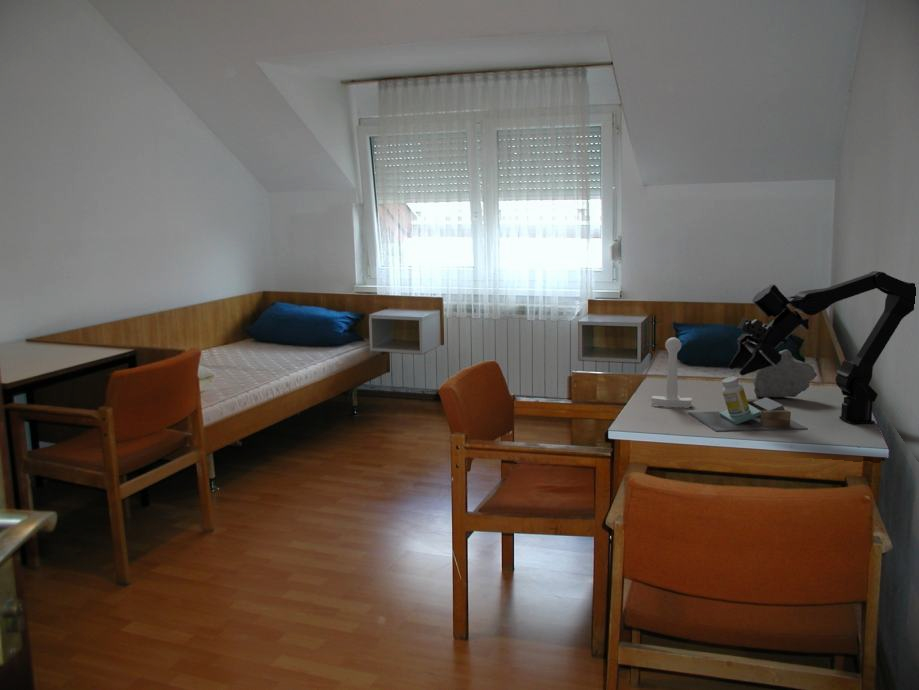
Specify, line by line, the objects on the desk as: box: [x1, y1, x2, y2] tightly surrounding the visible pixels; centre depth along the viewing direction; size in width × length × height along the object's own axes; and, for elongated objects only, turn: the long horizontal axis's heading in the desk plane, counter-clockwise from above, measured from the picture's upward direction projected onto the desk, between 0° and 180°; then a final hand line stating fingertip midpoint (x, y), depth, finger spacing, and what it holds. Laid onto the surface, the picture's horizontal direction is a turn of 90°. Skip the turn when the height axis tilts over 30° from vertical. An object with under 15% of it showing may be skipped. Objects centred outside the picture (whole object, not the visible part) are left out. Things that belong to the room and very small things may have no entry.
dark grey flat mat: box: [688, 398, 808, 433], centre depth 213 cm, size 24×20×4 cm
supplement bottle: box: [721, 376, 750, 416], centre depth 212 cm, size 5×5×10 cm
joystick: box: [650, 336, 693, 409], centre depth 232 cm, size 11×8×20 cm
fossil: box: [753, 349, 818, 398], centre depth 240 cm, size 17×7×15 cm, turn 69°
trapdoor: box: [718, 397, 785, 425], centre depth 214 cm, size 14×10×3 cm
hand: (735, 371), depth 212 cm, fingers open, 9 cm apart
